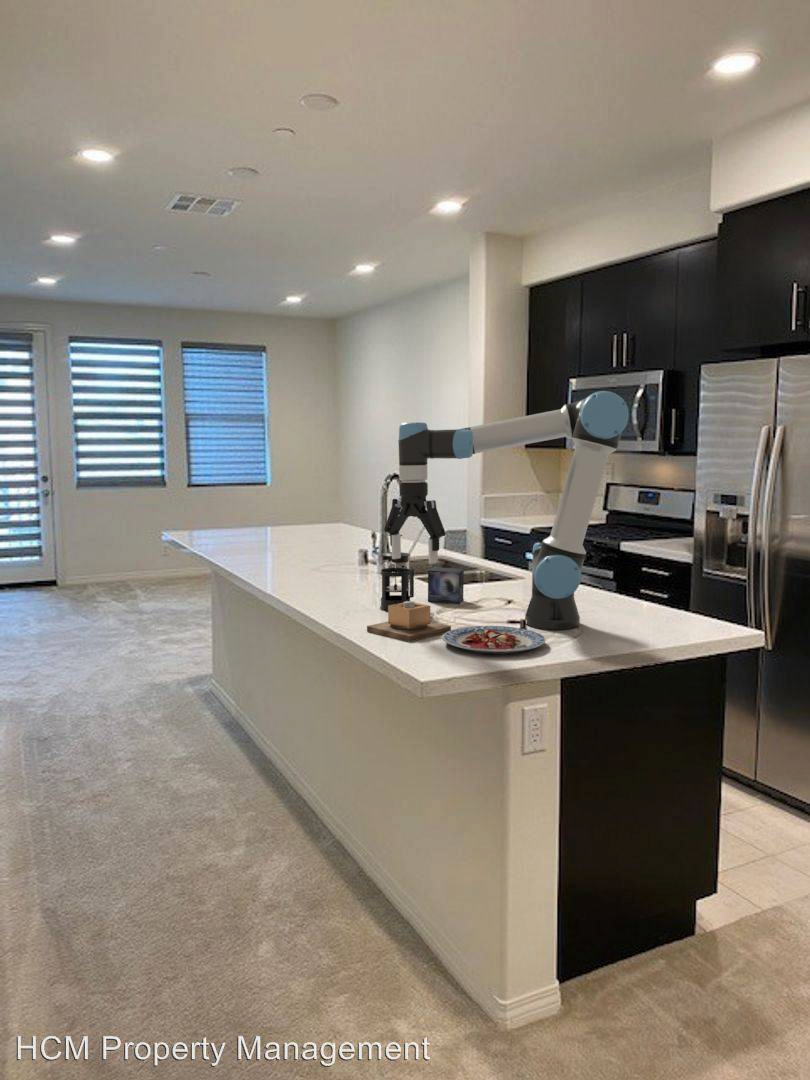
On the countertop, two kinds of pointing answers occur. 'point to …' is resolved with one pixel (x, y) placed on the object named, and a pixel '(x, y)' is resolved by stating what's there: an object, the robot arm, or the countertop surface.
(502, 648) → the ceramic plate
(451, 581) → the small box
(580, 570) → the robot arm
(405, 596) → the french press
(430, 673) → the countertop surface
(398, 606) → the open wooden box
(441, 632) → the post stand
